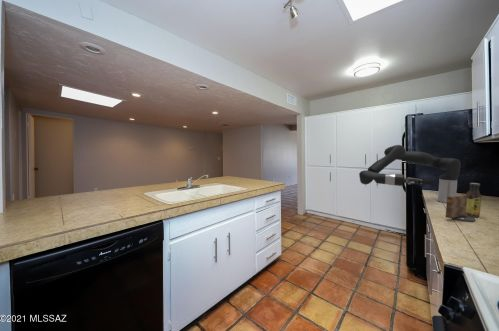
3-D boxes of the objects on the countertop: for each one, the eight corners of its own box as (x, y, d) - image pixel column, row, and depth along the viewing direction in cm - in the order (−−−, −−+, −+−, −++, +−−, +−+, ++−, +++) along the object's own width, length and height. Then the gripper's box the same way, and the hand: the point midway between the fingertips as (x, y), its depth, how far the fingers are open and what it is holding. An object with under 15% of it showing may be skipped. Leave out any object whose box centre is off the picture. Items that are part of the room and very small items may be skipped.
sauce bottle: (475, 218, 109) (478, 184, 107) (461, 214, 115) (463, 182, 113) (482, 216, 110) (485, 184, 109) (467, 213, 116) (470, 182, 115)
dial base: (445, 213, 117) (445, 211, 116) (472, 217, 109) (472, 215, 109) (448, 219, 108) (448, 216, 108) (477, 223, 101) (478, 221, 101)
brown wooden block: (458, 213, 111) (459, 194, 110) (468, 216, 107) (470, 195, 106) (442, 216, 108) (444, 196, 107) (452, 218, 104) (454, 197, 103)
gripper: (394, 175, 117) (432, 177, 106) (395, 172, 127) (430, 174, 116) (393, 186, 118) (431, 190, 107) (394, 183, 128) (429, 186, 117)
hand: (430, 182), depth 111 cm, fingers closed
